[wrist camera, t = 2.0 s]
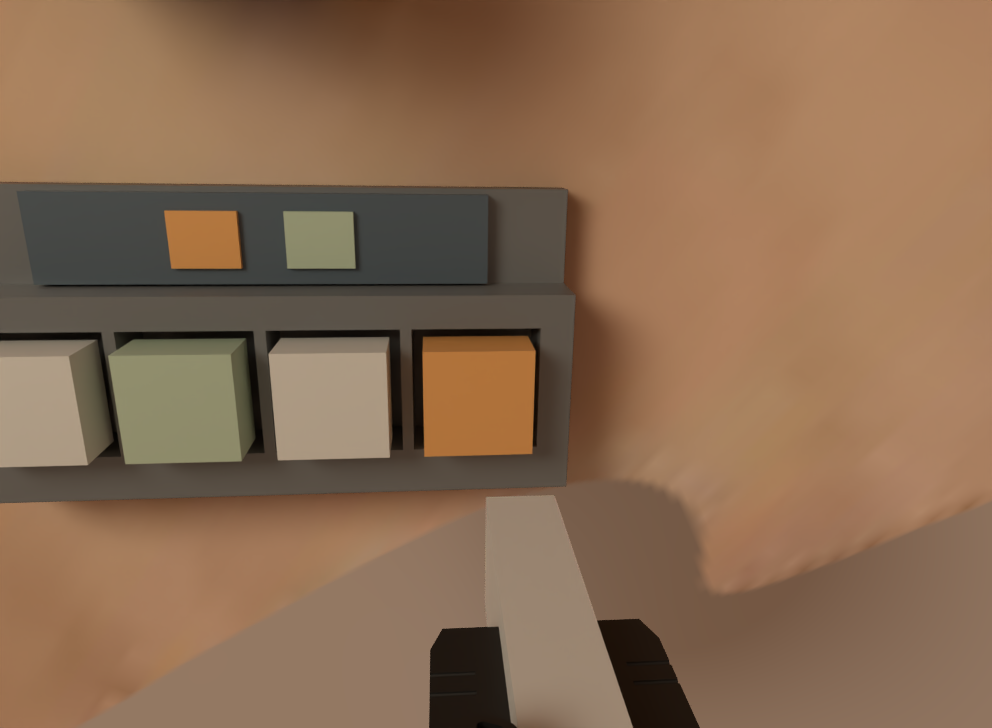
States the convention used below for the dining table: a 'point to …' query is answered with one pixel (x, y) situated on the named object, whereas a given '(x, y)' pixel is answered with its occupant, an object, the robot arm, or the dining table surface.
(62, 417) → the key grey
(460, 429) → the key orange
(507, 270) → the keypad
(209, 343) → the key sage
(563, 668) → the robot arm
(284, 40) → the dining table surface
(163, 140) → the dining table surface
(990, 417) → the dining table surface
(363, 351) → the key grey mid
